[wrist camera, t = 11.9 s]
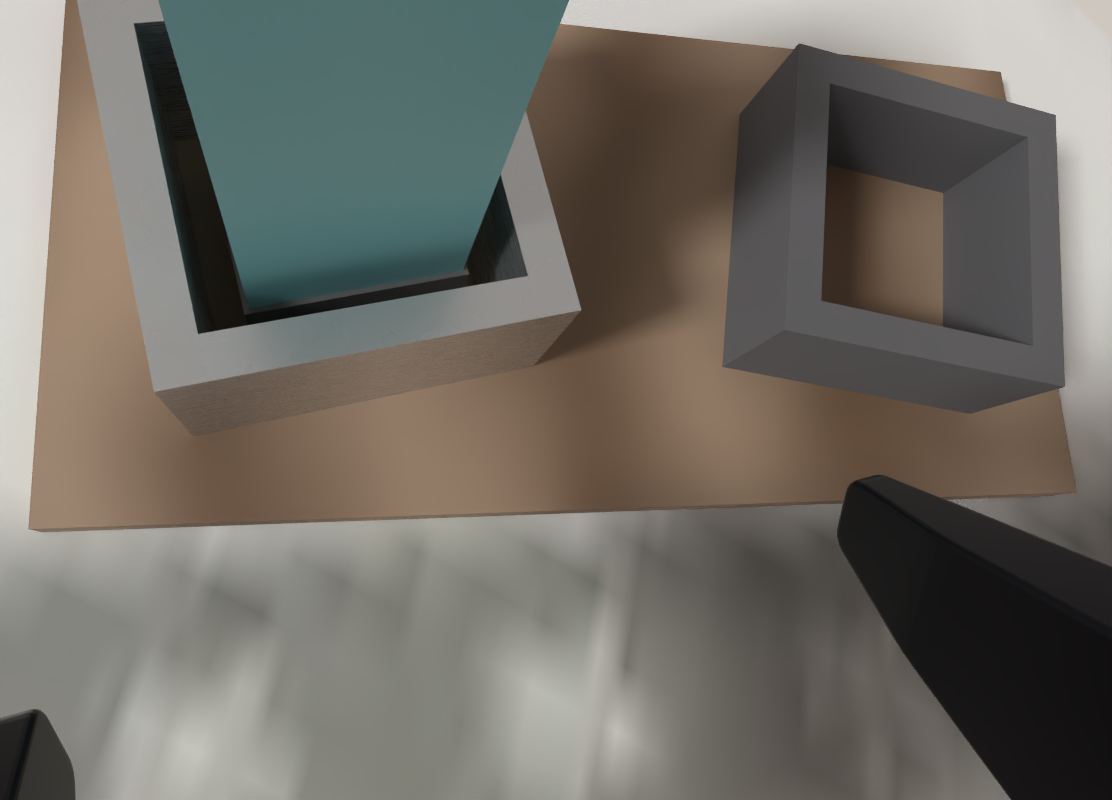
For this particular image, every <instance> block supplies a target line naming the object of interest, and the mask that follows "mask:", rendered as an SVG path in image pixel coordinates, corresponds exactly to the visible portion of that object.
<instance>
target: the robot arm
mask: <svg viewBox="0 0 1112 800" xmlns="http://www.w3.org/2000/svg"><path fill="white" fill-rule="evenodd" d="M837 537H838V542H839V545H840V548H841V550H842V552H843V554H844V555H845V557H846V559H847V560H848V562H849V564H850V565H851V567H852V569H853V570H854V572H855V574H856V575H857V577H858V579H859V581H860V582H861V584H862V586H863V587H864V589H865V591H866V592H867V594H868V596H869V597H870V599H871V601H872V602H873V604H874V606H875V607H876V609H877V611H878V612H879V614H880V616H881V618H882V619H883V621H884V623H885V624H886V626H887V628H888V629H889V631H890V633H891V634H892V636H893V638H894V639H895V641H896V642H897V644H898V645H899V647H900V649H901V650H902V652H903V653H904V655H905V656H906V657H907V659H908V660H909V662H910V663H911V665H912V666H913V667H914V669H915V670H916V672H917V673H918V674H919V676H920V677H921V678H922V680H923V681H924V682H925V684H926V685H927V687H928V688H929V689H930V691H931V692H932V693H933V695H934V696H935V697H936V699H937V700H938V701H939V703H940V704H941V706H942V707H943V708H944V710H945V711H946V712H947V714H948V715H949V716H950V718H951V719H952V720H953V722H954V723H955V725H956V726H957V727H958V729H959V730H960V731H961V733H962V734H963V735H964V737H965V738H966V739H967V741H968V742H969V743H970V745H971V746H972V748H973V749H974V750H975V752H976V753H977V754H978V756H979V757H980V758H981V760H982V761H983V762H984V764H985V765H986V767H987V768H988V769H989V771H990V772H991V773H992V775H993V776H994V777H995V779H996V780H997V781H998V783H999V784H1000V786H1001V787H1002V788H1003V790H1004V791H1005V792H1006V794H1007V795H1008V796H1009V798H1010V799H1011V800H1112V566H1110V565H1107V564H1105V563H1102V562H1100V561H1097V560H1095V559H1092V558H1090V557H1087V556H1085V555H1082V554H1080V553H1077V552H1075V551H1072V550H1070V549H1067V548H1065V547H1062V546H1060V545H1057V544H1055V543H1052V542H1050V541H1047V540H1045V539H1042V538H1040V537H1037V536H1035V535H1032V534H1030V533H1027V532H1025V531H1022V530H1020V529H1017V528H1015V527H1013V526H1010V525H1008V524H1005V523H1003V522H1000V521H998V520H995V519H993V518H990V517H988V516H985V515H983V514H980V513H978V512H975V511H973V510H970V509H968V508H965V507H963V506H960V505H958V504H955V503H953V502H950V501H948V500H945V499H943V498H940V497H938V496H935V495H933V494H930V493H928V492H925V491H923V490H920V489H918V488H915V487H913V486H910V485H908V484H905V483H903V482H900V481H898V480H896V479H893V478H891V477H888V476H885V475H873V476H869V477H866V478H862V479H859V480H855V481H853V482H851V483H850V485H849V486H848V487H847V490H846V493H845V497H844V502H843V506H842V510H841V515H840V519H839V524H838V528H837ZM0 800H76V799H75V778H74V772H73V767H72V764H71V761H70V758H69V756H68V754H67V753H66V751H65V749H64V747H63V745H62V743H61V742H60V740H59V738H58V736H57V734H56V732H55V731H54V729H53V727H52V725H51V723H50V721H49V720H48V718H47V716H46V715H45V714H44V713H43V712H42V711H41V710H38V709H31V710H28V711H24V712H20V713H17V714H13V715H10V716H6V717H2V718H0Z"/></svg>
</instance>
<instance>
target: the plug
mask: <svg viewBox="0 0 1112 800" xmlns="http://www.w3.org/2000/svg"><path fill="white" fill-rule="evenodd" d="M158 1H159V5H160V8H161V12H162V15H163V18H164V22H165V25H166V29H167V32H168V35H169V39H170V42H171V45H172V49H173V52H174V56H175V59H176V62H177V66H178V69H179V73H180V76H181V79H182V83H183V86H184V90H185V93H186V96H187V100H188V103H189V106H190V110H191V113H192V117H193V120H194V123H195V127H196V130H197V134H198V137H199V140H200V144H201V147H202V151H203V154H204V157H205V161H206V164H207V167H208V171H209V174H210V178H211V181H212V184H213V188H214V191H215V195H216V198H217V201H218V205H219V208H220V211H221V215H222V218H223V222H224V226H225V230H226V235H227V239H228V244H229V248H230V252H231V257H232V261H233V266H234V270H235V275H236V279H237V283H238V288H239V292H240V297H241V301H242V306H243V310H244V314H245V318H246V321H247V324H248V325H252V324H258V323H264V322H269V321H275V320H281V319H287V318H292V317H298V316H304V315H309V314H315V313H321V312H326V311H332V310H338V309H343V308H349V307H355V306H360V305H366V304H372V303H378V302H383V301H389V300H395V299H400V298H406V297H412V296H417V295H423V294H429V293H434V292H440V291H446V290H452V289H457V288H463V287H464V285H465V283H466V280H467V278H468V275H469V273H468V269H467V265H466V261H467V258H468V256H469V253H470V251H471V248H472V245H473V243H474V240H475V238H476V235H477V233H478V230H479V228H480V225H481V223H482V220H483V218H484V215H485V212H486V210H487V207H488V205H489V202H490V200H491V197H492V195H493V192H494V190H495V187H496V184H497V182H498V179H499V177H500V174H501V172H502V169H503V167H504V164H505V162H506V159H507V156H508V154H509V151H510V149H511V146H512V144H513V141H514V139H515V136H516V134H517V131H518V129H519V126H520V123H521V121H522V118H523V116H524V113H525V111H526V108H527V106H528V103H529V101H530V98H531V95H532V93H533V90H534V88H535V85H536V83H537V80H538V78H539V75H540V73H541V70H542V68H543V65H544V62H545V60H546V57H547V55H548V52H549V50H550V47H551V45H552V42H553V40H554V37H555V34H556V32H557V29H558V27H559V24H560V22H561V19H562V17H563V14H564V12H565V9H566V6H567V4H568V1H569V0H158Z"/></svg>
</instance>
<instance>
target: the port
mask: <svg viewBox="0 0 1112 800" xmlns="http://www.w3.org/2000/svg"><path fill="white" fill-rule="evenodd" d="M77 3H78V8H79V14H80V19H81V24H82V29H83V34H84V39H85V44H86V49H87V54H88V59H89V64H90V69H91V75H92V80H93V85H94V90H95V95H96V100H97V105H98V110H99V115H100V120H101V125H102V130H103V136H104V141H105V146H106V151H107V156H108V161H109V166H110V171H111V176H112V181H113V186H114V192H115V197H116V202H117V207H118V212H119V217H120V222H121V227H122V232H123V237H124V242H125V247H126V253H127V258H128V263H129V268H130V273H131V278H132V283H133V288H134V293H135V298H136V303H137V309H138V314H139V319H140V324H141V329H142V334H143V339H144V344H145V349H146V354H147V359H148V364H149V370H150V375H151V380H152V385H153V390H154V393H155V394H156V395H157V396H158V397H159V398H160V399H161V401H162V402H163V403H164V404H165V405H166V406H167V407H168V408H169V410H170V411H171V412H172V413H173V414H174V415H175V416H176V418H177V419H178V420H179V421H180V422H181V423H182V424H183V426H184V427H185V428H186V429H187V430H188V431H189V432H190V434H191V435H192V436H193V437H194V436H199V435H204V434H209V433H214V432H219V431H223V430H228V429H233V428H238V427H243V426H247V425H252V424H257V423H262V422H267V421H272V420H276V419H281V418H286V417H291V416H296V415H300V414H305V413H310V412H315V411H320V410H324V409H329V408H334V407H339V406H344V405H349V404H353V403H358V402H363V401H368V400H373V399H377V398H382V397H387V396H392V395H397V394H402V393H406V392H411V391H416V390H421V389H426V388H430V387H435V386H440V385H445V384H450V383H455V382H459V381H464V380H469V379H474V378H479V377H483V376H488V375H493V374H498V373H503V372H507V371H512V370H517V369H522V368H527V367H532V366H534V365H535V363H536V362H537V361H538V360H539V359H540V358H541V356H542V355H543V354H544V353H545V352H546V351H547V350H548V348H549V347H550V346H551V345H552V344H553V343H554V341H555V340H556V339H557V338H558V337H559V336H560V334H561V333H562V332H563V331H564V330H565V329H566V327H567V326H568V325H569V324H570V323H571V322H572V321H573V319H574V318H575V317H576V316H577V315H578V314H579V312H580V311H581V307H580V303H579V300H578V296H577V292H576V289H575V285H574V282H573V278H572V274H571V271H570V267H569V264H568V260H567V257H566V253H565V249H564V246H563V242H562V239H561V235H560V231H559V228H558V224H557V221H556V217H555V214H554V210H553V206H552V203H551V199H550V196H549V192H548V188H547V185H546V181H545V178H544V174H543V171H542V167H541V163H540V160H539V156H538V153H537V149H536V145H535V142H534V138H533V135H532V131H531V128H530V124H529V120H528V117H527V113H526V111H525V113H524V116H523V118H522V121H521V123H520V126H519V129H518V131H517V134H516V136H515V139H514V141H513V144H512V146H511V149H510V151H509V154H508V156H507V159H506V162H505V164H504V167H503V169H502V172H501V174H500V177H499V179H498V182H497V184H496V187H495V190H494V192H493V195H492V197H491V200H490V202H489V205H488V207H487V210H486V212H485V215H484V218H483V220H482V223H481V225H480V228H479V230H478V233H477V235H476V238H475V240H474V243H473V245H472V248H471V251H470V253H469V260H470V264H471V268H472V272H473V275H474V279H475V283H476V285H474V286H469V287H463V288H457V289H452V290H446V291H440V292H434V293H429V294H423V295H417V296H412V297H406V298H400V299H395V300H389V301H383V302H378V303H372V304H366V305H360V306H355V307H349V308H343V309H338V310H332V311H326V312H321V313H315V314H309V315H304V316H298V317H292V318H287V319H281V320H275V321H269V322H264V323H258V324H252V325H247V326H241V327H235V328H230V329H224V330H218V331H215V330H214V325H213V321H212V316H211V311H210V306H209V302H208V297H207V292H206V287H205V283H204V278H203V273H202V268H201V264H200V259H199V254H198V249H197V245H196V240H195V235H194V230H193V226H192V221H191V216H190V211H189V206H188V202H187V197H186V192H185V187H184V183H183V178H182V173H181V168H180V164H179V159H178V154H177V149H176V145H175V141H176V140H185V139H194V138H199V137H198V134H197V130H196V127H195V123H194V120H193V117H192V113H191V110H190V106H189V103H188V100H187V96H186V93H185V90H184V86H183V83H182V79H181V76H180V73H179V69H178V66H177V62H176V59H175V56H174V52H173V49H172V45H171V42H170V39H169V35H168V32H167V29H166V25H165V22H164V18H163V15H162V12H161V8H160V5H159V1H158V0H77Z"/></svg>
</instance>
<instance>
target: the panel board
mask: <svg viewBox="0 0 1112 800" xmlns="http://www.w3.org/2000/svg"><path fill="white" fill-rule="evenodd" d="M793 50H794V49H785V48H776V47H767V46H757V45H748V44H739V43H730V42H721V41H712V40H702V39H693V38H684V37H675V36H666V35H657V34H647V33H638V32H629V31H620V30H611V29H602V28H592V27H583V26H574V25H565V24H559V27H558V29H557V32H556V34H555V37H554V40H553V42H552V45H551V47H550V50H549V52H548V55H547V57H546V60H545V62H544V65H543V68H542V70H541V73H540V75H539V78H538V80H537V83H536V85H535V88H534V90H533V93H532V95H531V98H530V101H529V103H528V106H527V108H526V113H527V117H528V120H529V124H530V128H531V131H532V135H533V138H534V142H535V145H536V149H537V153H538V156H539V160H540V163H541V167H542V171H543V174H544V178H545V181H546V185H547V188H548V192H549V196H550V199H551V203H552V206H553V210H554V214H555V217H556V221H557V224H558V228H559V231H560V235H561V239H562V242H563V246H564V249H565V253H566V257H567V260H568V264H569V267H570V271H571V274H572V278H573V282H574V285H575V289H576V292H577V296H578V300H579V303H580V307H581V311H580V312H579V314H578V315H577V316H576V317H575V318H574V319H573V321H572V322H571V323H570V324H569V325H568V326H567V327H566V329H565V330H564V331H563V332H562V333H561V334H560V336H559V337H558V338H557V339H556V340H555V341H554V343H553V344H552V345H551V346H550V347H549V348H548V350H547V351H546V352H545V353H544V354H543V355H542V356H541V358H540V359H539V360H538V361H537V362H536V363H535V365H534V366H532V367H527V368H522V369H517V370H512V371H507V372H503V373H498V374H493V375H488V376H483V377H479V378H474V379H469V380H464V381H459V382H455V383H450V384H445V385H440V386H435V387H430V388H426V389H421V390H416V391H411V392H406V393H402V394H397V395H392V396H387V397H382V398H377V399H373V400H368V401H363V402H358V403H353V404H349V405H344V406H339V407H334V408H329V409H324V410H320V411H315V412H310V413H305V414H300V415H296V416H291V417H286V418H281V419H276V420H272V421H267V422H262V423H257V424H252V425H247V426H243V427H238V428H233V429H228V430H223V431H219V432H214V433H209V434H204V435H199V436H194V437H193V436H192V435H191V434H190V432H189V431H188V430H187V429H186V428H185V427H184V426H183V424H182V423H181V422H180V421H179V420H178V419H177V418H176V416H175V415H174V414H173V413H172V412H171V411H170V410H169V408H168V407H167V406H166V405H165V404H164V403H163V402H162V401H161V399H160V398H159V397H158V396H157V395H156V394H155V393H154V390H153V385H152V380H151V375H150V370H149V364H148V359H147V354H146V349H145V344H144V339H143V334H142V329H141V324H140V319H139V314H138V309H137V303H136V298H135V293H134V288H133V283H132V278H131V273H130V268H129V263H128V258H127V253H126V247H125V242H124V237H123V232H122V227H121V222H120V217H119V212H118V207H117V202H116V197H115V192H114V186H113V181H112V176H111V171H110V166H109V161H108V156H107V151H106V146H105V141H104V136H103V130H102V125H101V120H100V115H99V110H98V105H97V100H96V95H95V90H94V85H93V80H92V75H91V69H90V64H89V59H88V54H87V49H86V44H85V39H84V34H83V29H82V24H81V19H80V14H79V8H78V3H77V0H66V3H65V18H64V32H63V46H62V60H61V74H60V89H59V103H58V117H57V131H56V146H55V160H54V174H53V188H52V202H51V217H50V231H49V245H48V259H47V273H46V288H45V302H44V316H43V330H42V345H41V359H40V373H39V387H38V401H37V416H36V430H35V444H34V458H33V472H32V487H31V501H30V515H29V529H30V530H35V531H39V532H59V531H87V530H115V529H143V528H170V527H198V526H226V525H253V524H281V523H309V522H336V521H364V520H392V519H419V518H447V517H475V516H503V515H530V514H558V513H586V512H613V511H641V510H669V509H696V508H724V507H752V506H780V505H807V504H835V503H843V502H844V497H845V493H846V490H847V487H848V486H849V485H850V483H851V482H853V481H855V480H859V479H862V478H866V477H869V476H873V475H885V476H888V477H891V478H893V479H896V480H898V481H900V482H903V483H905V484H908V485H910V486H913V487H915V488H918V489H920V490H923V491H925V492H928V493H930V494H933V495H935V496H938V497H940V498H943V499H945V500H946V499H973V498H1001V497H1029V496H1053V495H1060V494H1068V493H1075V492H1077V491H1076V485H1075V480H1074V474H1073V469H1072V463H1071V458H1070V452H1069V447H1068V441H1067V436H1066V430H1065V425H1064V419H1063V414H1062V408H1061V402H1060V397H1059V391H1058V389H1055V390H1052V391H1048V392H1045V393H1041V394H1038V395H1034V396H1031V397H1027V398H1024V399H1020V400H1017V401H1014V402H1010V403H1007V404H1003V405H1000V406H996V407H993V408H989V409H986V410H982V411H979V412H975V413H972V414H968V413H962V412H957V411H952V410H947V409H941V408H936V407H931V406H926V405H920V404H915V403H910V402H904V401H899V400H894V399H889V398H883V397H878V396H873V395H868V394H862V393H857V392H852V391H846V390H841V389H836V388H831V387H825V386H820V385H815V384H810V383H804V382H799V381H794V380H789V379H783V378H778V377H773V376H767V375H762V374H757V373H752V372H746V371H741V370H736V369H731V368H725V367H722V363H723V348H724V334H725V319H726V305H727V290H728V276H729V261H730V247H731V232H732V218H733V203H734V189H735V174H736V160H737V145H738V131H739V116H740V113H741V112H742V111H743V110H744V108H745V107H746V106H747V105H748V104H749V102H750V101H751V100H752V99H753V98H754V96H755V95H756V94H757V93H758V92H759V91H760V89H761V88H762V87H763V86H764V85H765V83H766V82H767V81H768V80H769V79H770V77H771V76H772V75H773V74H774V73H775V71H776V70H777V69H778V68H779V67H780V66H781V64H782V63H783V62H784V61H785V60H786V58H787V57H788V56H789V55H790V54H791V52H792V51H793ZM839 55H840V54H839ZM842 56H846V57H849V58H853V59H857V60H860V61H864V62H867V63H871V64H874V65H878V66H882V67H885V68H889V69H892V70H896V71H899V72H903V73H907V74H910V75H914V76H917V77H921V78H925V79H928V80H932V81H935V82H939V83H942V84H946V85H950V86H953V87H957V88H960V89H964V90H967V91H971V92H975V93H978V94H982V95H985V96H989V97H992V98H996V99H1000V100H1003V101H1006V99H1005V93H1004V88H1003V82H1002V76H1001V72H996V71H986V70H977V69H968V68H959V67H950V66H941V65H931V64H922V63H913V62H904V61H895V60H886V59H876V58H867V57H858V56H849V55H842ZM175 145H176V149H177V154H178V159H179V164H180V168H181V173H182V178H183V183H184V187H185V192H186V197H187V202H188V206H189V211H190V216H191V221H192V226H193V230H194V235H195V240H196V245H197V249H198V254H199V259H200V264H201V268H202V273H203V278H204V283H205V287H206V292H207V297H208V302H209V306H210V311H211V316H212V321H213V325H214V330H215V331H218V330H224V329H230V328H235V327H241V326H247V325H248V324H247V321H246V318H245V314H244V310H243V306H242V301H241V297H240V292H239V288H238V283H237V279H236V275H235V270H234V266H233V261H232V257H231V252H230V248H229V244H228V239H227V235H226V230H225V226H224V222H223V218H222V215H221V211H220V208H219V205H218V201H217V198H216V195H215V191H214V188H213V184H212V181H211V178H210V174H209V171H208V167H207V164H206V161H205V157H204V154H203V151H202V147H201V144H200V140H199V138H194V139H185V140H176V141H175ZM466 265H467V269H468V273H469V275H468V278H467V280H466V283H465V285H464V287H469V286H474V285H476V283H475V279H474V275H473V272H472V268H471V264H470V260H469V256H468V258H467V261H466ZM821 301H824V302H829V303H834V304H838V305H843V306H848V307H852V308H857V309H862V310H867V311H871V312H876V313H881V314H885V315H890V316H895V317H900V318H904V319H909V320H914V321H918V322H923V323H928V324H932V325H937V326H942V327H943V193H941V192H937V191H933V190H928V189H924V188H920V187H916V186H912V185H908V184H904V183H900V182H896V181H892V180H888V179H884V178H880V177H876V176H872V175H868V174H864V173H860V172H856V171H852V170H848V169H844V168H840V167H836V166H832V165H828V164H827V169H826V194H825V219H824V244H823V269H822V294H821Z"/></svg>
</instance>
